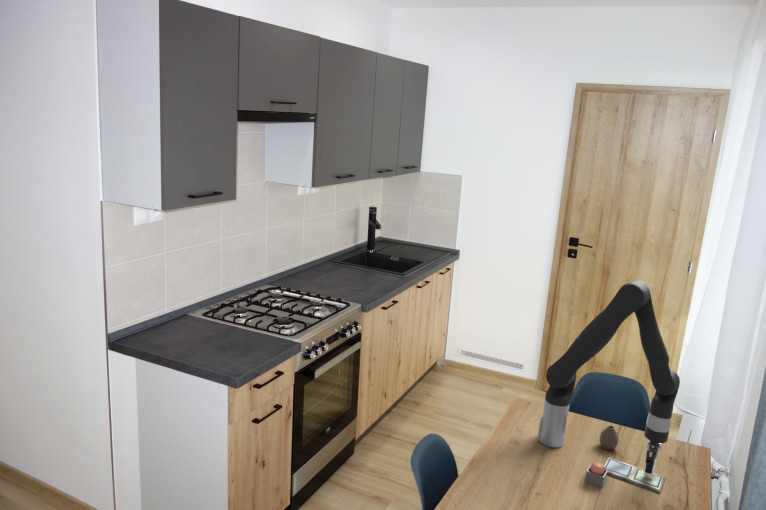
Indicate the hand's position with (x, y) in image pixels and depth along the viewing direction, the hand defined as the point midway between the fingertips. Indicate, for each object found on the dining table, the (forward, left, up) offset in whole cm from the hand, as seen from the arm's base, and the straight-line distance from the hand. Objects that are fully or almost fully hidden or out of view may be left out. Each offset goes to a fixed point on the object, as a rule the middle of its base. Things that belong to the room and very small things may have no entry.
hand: (649, 470), depth 214 cm
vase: (-17, +14, -4) cm, 23 cm away
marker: (0, 0, -2) cm, 2 cm away
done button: (-15, -12, -2) cm, 20 cm away
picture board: (-5, 0, -4) cm, 6 cm away
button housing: (-15, -13, -4) cm, 20 cm away
